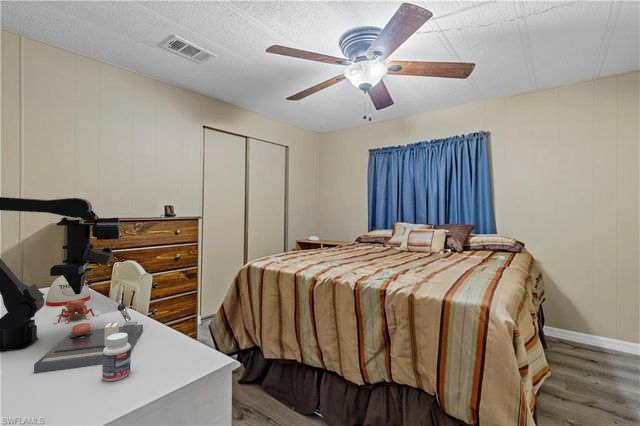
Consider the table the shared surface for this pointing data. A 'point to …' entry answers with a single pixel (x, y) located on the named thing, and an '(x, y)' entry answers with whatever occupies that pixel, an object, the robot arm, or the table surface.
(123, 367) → the pill bottle
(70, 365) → the panel
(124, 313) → the toggle
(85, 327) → the button
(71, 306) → the robot toy
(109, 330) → the fader
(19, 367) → the table surface
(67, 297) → the kitchen timer
